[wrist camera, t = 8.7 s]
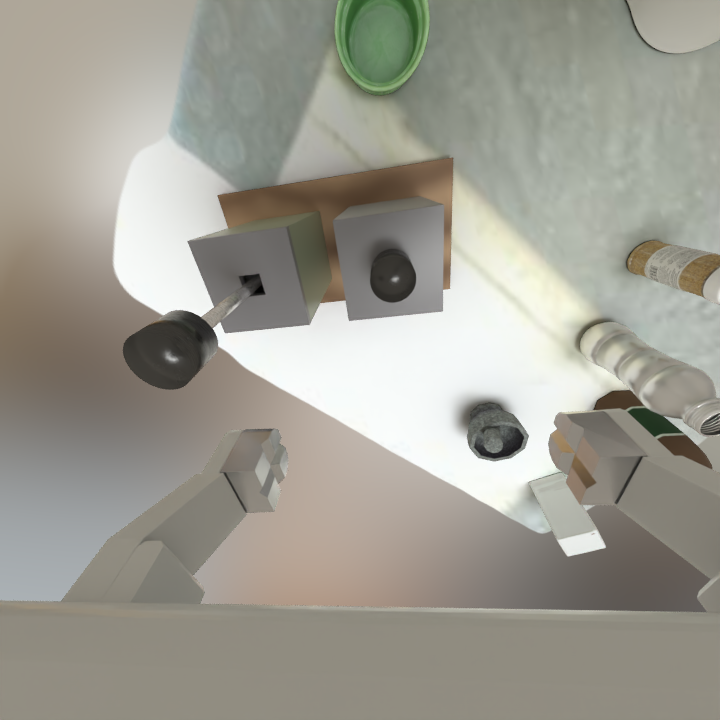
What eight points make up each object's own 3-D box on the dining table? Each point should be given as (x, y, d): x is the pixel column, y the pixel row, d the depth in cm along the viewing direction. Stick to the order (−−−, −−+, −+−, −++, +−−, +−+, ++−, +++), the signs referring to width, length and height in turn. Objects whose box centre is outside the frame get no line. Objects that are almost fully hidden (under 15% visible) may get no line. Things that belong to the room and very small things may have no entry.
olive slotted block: (254, 220, 40) (187, 241, 26) (319, 210, 39) (286, 227, 25) (273, 285, 44) (225, 333, 30) (332, 278, 43) (309, 324, 29)
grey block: (349, 206, 38) (332, 220, 24) (419, 196, 37) (444, 204, 23) (358, 275, 43) (348, 320, 29) (421, 268, 42) (442, 311, 28)
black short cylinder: (356, 212, 38) (338, 236, 21) (414, 204, 37) (441, 222, 21) (363, 270, 41) (353, 328, 25) (416, 264, 41) (441, 319, 24)
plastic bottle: (567, 353, 49) (668, 445, 32) (584, 315, 45) (708, 396, 28) (606, 355, 49) (729, 449, 32) (627, 317, 45) (778, 400, 28)
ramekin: (434, 74, 32) (441, 59, 29) (360, 118, 35) (358, 110, 31) (406, -41, 28) (410, -75, 24) (324, 18, 31) (317, -5, 27)
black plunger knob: (226, 239, 30) (52, 304, 14) (294, 229, 30) (192, 287, 13) (249, 306, 34) (132, 418, 18) (310, 299, 33) (245, 410, 17)
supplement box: (527, 481, 66) (556, 540, 55) (562, 470, 64) (599, 529, 53) (537, 499, 69) (566, 557, 58) (571, 489, 67) (608, 548, 56)
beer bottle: (640, 412, 54) (798, 552, 34) (594, 426, 57) (715, 564, 36) (637, 382, 51) (810, 516, 31) (588, 397, 53) (718, 532, 33)
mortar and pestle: (520, 420, 57) (551, 472, 47) (476, 440, 60) (496, 492, 50) (494, 382, 53) (521, 430, 43) (448, 406, 56) (463, 456, 46)
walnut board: (222, 194, 40) (217, 195, 38) (450, 158, 36) (453, 157, 35) (259, 306, 48) (255, 310, 46) (447, 285, 44) (449, 288, 43)
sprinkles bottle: (659, 268, 41) (768, 301, 30) (623, 277, 42) (714, 313, 31) (666, 234, 39) (785, 256, 28) (627, 245, 40) (727, 271, 28)
